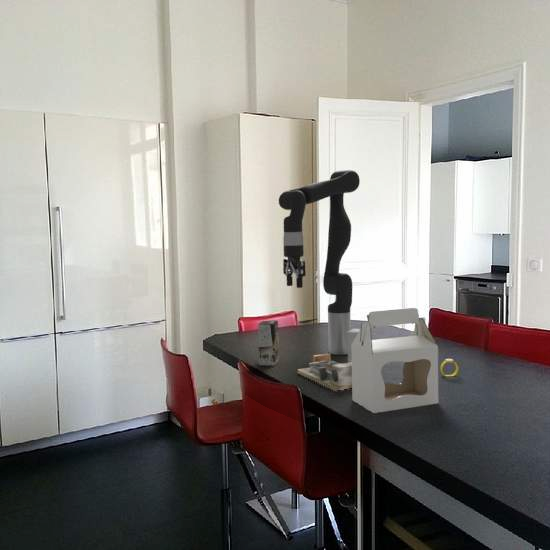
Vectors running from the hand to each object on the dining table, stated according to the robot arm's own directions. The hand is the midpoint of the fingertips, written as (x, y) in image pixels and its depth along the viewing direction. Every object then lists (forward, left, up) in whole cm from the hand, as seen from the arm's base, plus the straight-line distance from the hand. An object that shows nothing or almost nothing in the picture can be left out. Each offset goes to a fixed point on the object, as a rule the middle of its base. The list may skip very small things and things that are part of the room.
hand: (294, 286), depth 219 cm
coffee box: (+8, -8, -30) cm, 32 cm away
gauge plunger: (0, +19, -28) cm, 34 cm away
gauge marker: (+4, +28, -28) cm, 40 cm away
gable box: (-5, +56, -30) cm, 64 cm away
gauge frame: (-2, +25, -30) cm, 39 cm away
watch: (-38, +42, -30) cm, 64 cm away
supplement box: (-22, +10, -30) cm, 39 cm away
